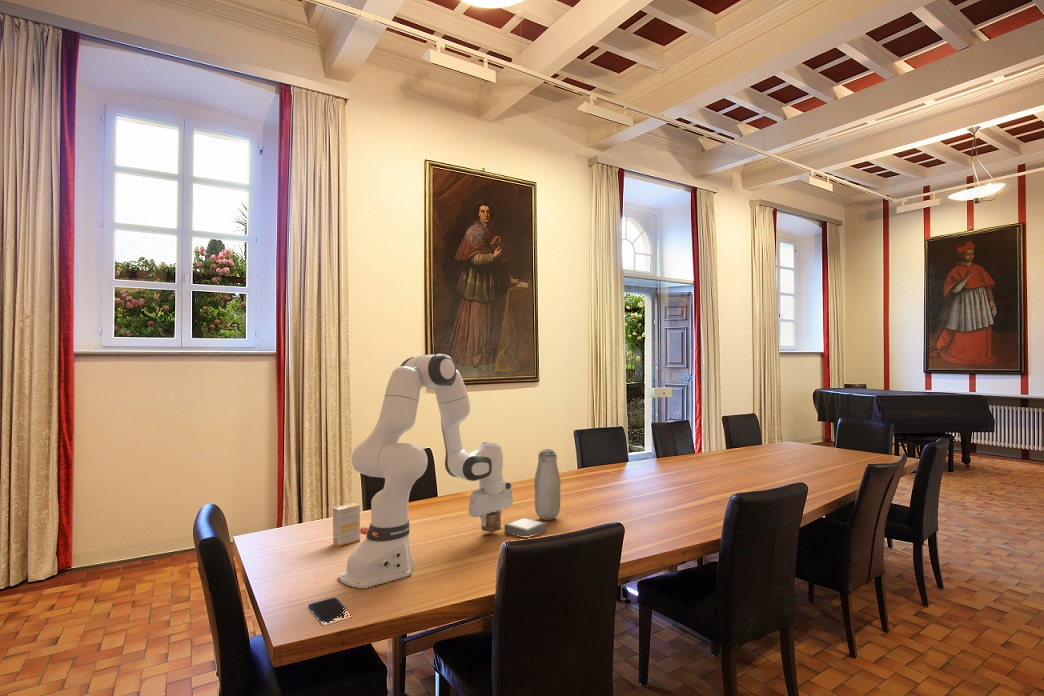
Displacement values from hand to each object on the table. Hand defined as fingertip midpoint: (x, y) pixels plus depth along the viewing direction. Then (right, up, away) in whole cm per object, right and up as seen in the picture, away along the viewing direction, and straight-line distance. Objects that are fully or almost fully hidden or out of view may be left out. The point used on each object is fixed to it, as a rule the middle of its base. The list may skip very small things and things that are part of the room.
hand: (491, 523), depth 198 cm
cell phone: (-38, -4, -60) cm, 71 cm away
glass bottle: (+22, -4, +18) cm, 28 cm away
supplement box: (-51, -4, -8) cm, 52 cm away
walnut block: (0, -2, 0) cm, 2 cm away
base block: (+13, -4, +2) cm, 13 cm away
